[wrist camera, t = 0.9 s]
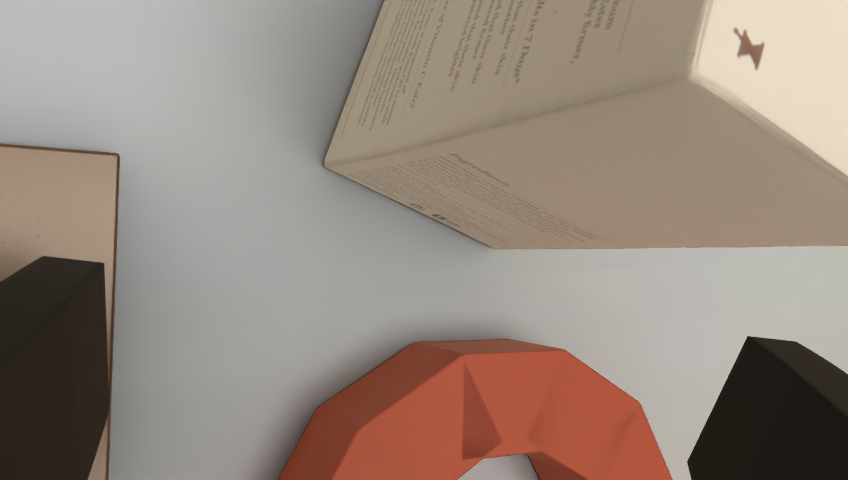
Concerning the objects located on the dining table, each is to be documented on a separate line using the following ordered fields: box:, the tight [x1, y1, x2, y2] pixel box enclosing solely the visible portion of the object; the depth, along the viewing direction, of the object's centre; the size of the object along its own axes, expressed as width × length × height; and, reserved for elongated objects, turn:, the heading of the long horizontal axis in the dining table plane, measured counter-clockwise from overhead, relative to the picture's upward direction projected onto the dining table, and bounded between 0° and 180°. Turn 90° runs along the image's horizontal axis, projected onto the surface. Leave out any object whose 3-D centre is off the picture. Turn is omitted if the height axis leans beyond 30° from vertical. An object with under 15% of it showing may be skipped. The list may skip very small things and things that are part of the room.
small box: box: [324, 0, 848, 249], centre depth 18 cm, size 8×6×13 cm
